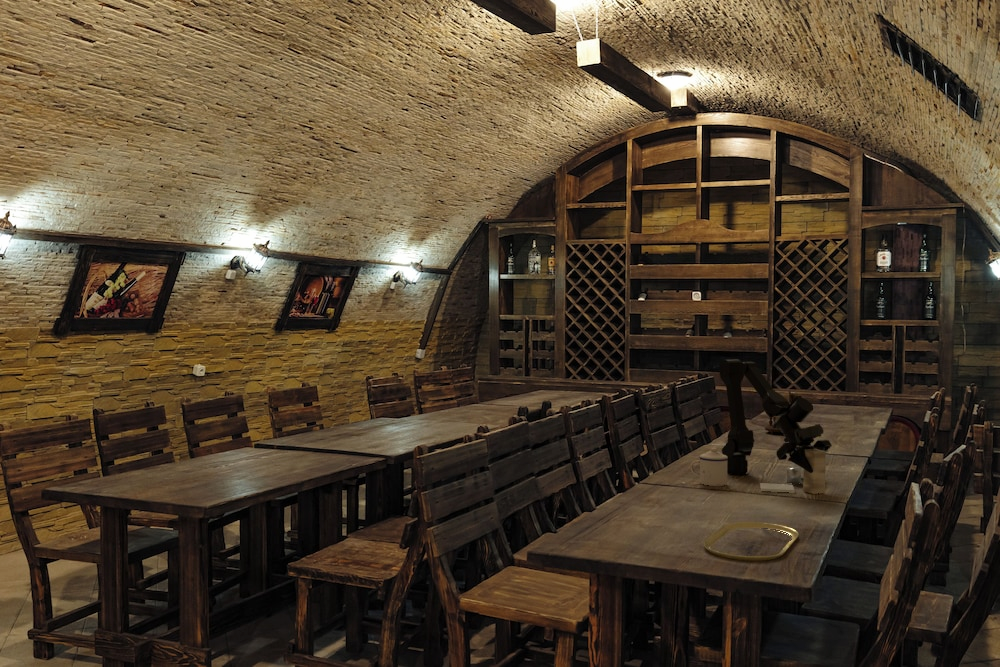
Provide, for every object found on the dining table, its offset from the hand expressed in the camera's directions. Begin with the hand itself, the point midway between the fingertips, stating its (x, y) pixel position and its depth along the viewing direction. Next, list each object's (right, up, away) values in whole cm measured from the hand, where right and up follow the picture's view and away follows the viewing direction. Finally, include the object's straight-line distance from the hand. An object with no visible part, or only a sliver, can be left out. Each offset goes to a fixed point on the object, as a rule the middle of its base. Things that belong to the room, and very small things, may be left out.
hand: (817, 471), depth 283 cm
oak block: (-1, -7, +2) cm, 7 cm away
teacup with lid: (-30, -6, +15) cm, 34 cm away
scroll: (+30, -3, +134) cm, 137 cm away
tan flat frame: (-37, -9, -59) cm, 70 cm away
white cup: (+5, -6, +28) cm, 29 cm away
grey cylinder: (-2, -6, +16) cm, 18 cm away
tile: (-11, -7, +5) cm, 14 cm away
